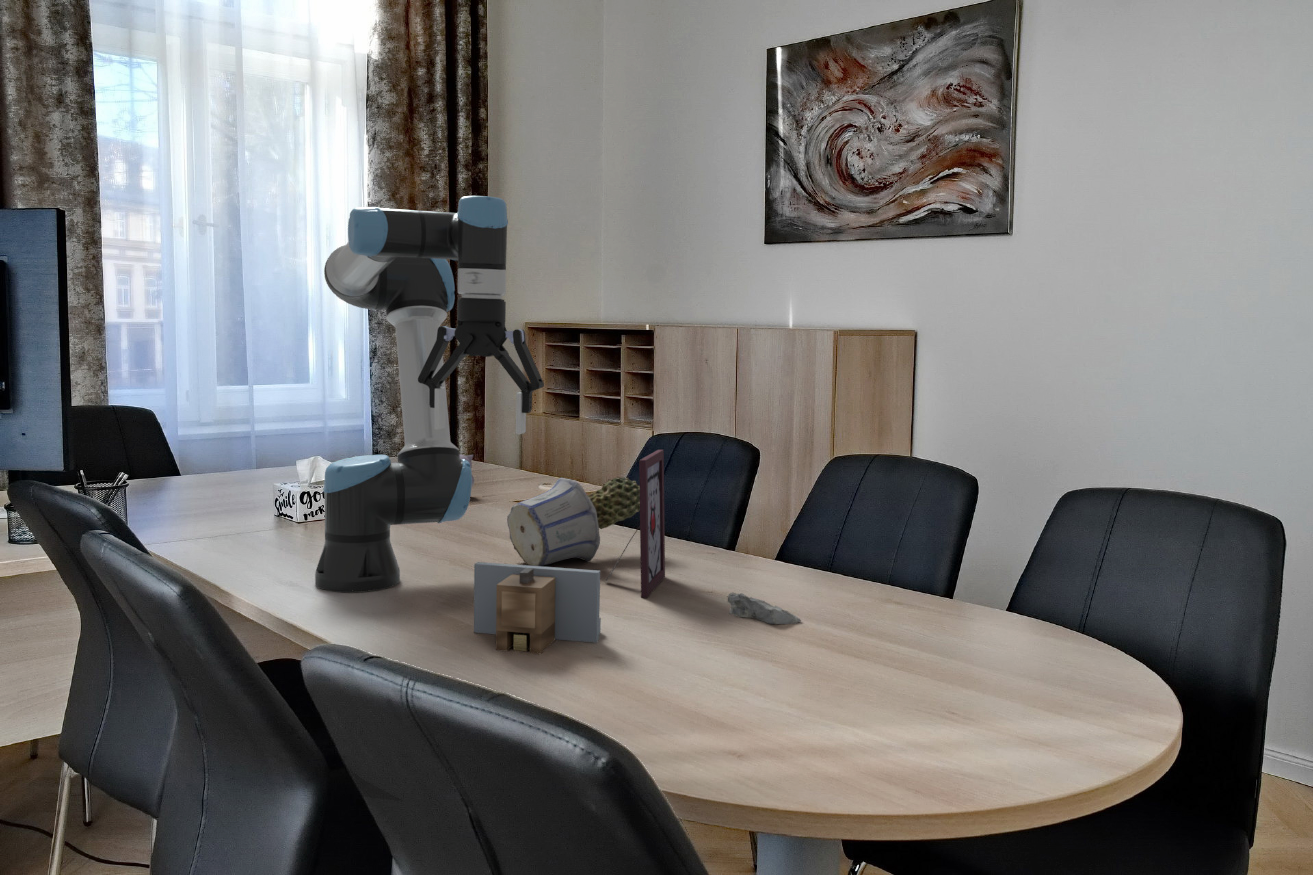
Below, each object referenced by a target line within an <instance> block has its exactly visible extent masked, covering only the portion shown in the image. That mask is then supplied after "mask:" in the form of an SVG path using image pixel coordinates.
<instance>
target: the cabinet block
mask: <svg viewBox="0 0 1313 875" xmlns="http://www.w3.org/2000/svg"><path fill="white" fill-rule="evenodd" d="M533 571H534V569H531V568H525V569H524V570H523V571H521V572H520V575H517V574H512V575H510V576H509V577H507V578H506V579H504V580H503V581H501V582H500V583H498V584H497V592H496V634H495V651H504V652H508V651H509V650H510V649H511V648H512V647H514V634H515V633H516V632H520V633H530V648H529V653H530V654H538V655H541V654H543V652H545V650H547V649H548V647H550V646H551V644H553V643H554V642H555V640H556V639H555V577H545V576H533Z"/></svg>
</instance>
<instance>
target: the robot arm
mask: <svg viewBox="0 0 1313 875" xmlns="http://www.w3.org/2000/svg"><path fill="white" fill-rule="evenodd" d="M457 206H458V208H457V212H447V211H429V210H428V211H427V210H413V209H399V208H387V207H378V206H370V207H369V206H368V207H367V206H364V207H359V206H358V207H354V208H352V210H351V211H350V213H349V218H348V222H347V223H348V224H347V238H348V239H347V240H348V241H347V243H346V244H345V245H342V246H340V247H337V248H336V249H335V250H333V251H332V252H331V253H330V255H329V256H328V257H327V259H326V262H325V264H324V269H323V273H324V280H325V282H326V284H327V286H328V288H329V289H330V291H331V292H332V293H333V294H334V295H335V296H336V297H337V298H338V299H340V300H341V301H343V302H345V303H347V304H349V305H351V306H353V307H356V308H360V309H366V310H380V311H381V310H382V311H383V310H384V311H385V313H386V321H387V322H388V323H389V324H391V326H393V327H394V328H395V337H396V338H395V339H396V349H397V350H396V351H397V362H398V374H399V375H398V376H399V377H398V378H399V385H400V386H399V388H400V390H399V391H400V402H401V412H402V413H401V414H402V416H401V417H402V428H403V438H404V439H403V440H404V446H403V447H402V449H401V450H400V451H399V452H398V453H397V462H392V460H391V458H390V457H389V455H386V454H368V455H367V454H365V455H360V456H359V455H358V456H353V457H347V458H343V459H339V460H336V461H334V462H332V463H330V464H329V465H328V466H326V468H325V471H324V480H323V481H324V482H323V484H324V485H323V488H322V491H323V494H324V544H323V548H322V551H321V554H320V556H319V560H318V562H317V563H318V564H317V566H316V569H315V571H314V572H315V574H314V577H315V578H314V581H315V582H314V585H315V586H316V587H317V588H319V589H322V590H326V591H330V592H338V593H339V592H340V593H356V592H357V593H358V592H359V593H362V592H371V591H372V592H373V591H379V590H383V589H384V590H385V589H387V588H391V587H393V586H396V585H397V584H399V583H400V581H401V570H400V567H399V563H398V560H397V557H396V554H395V551H394V549H393V547H392V546H393V545H392V543H391V526H395V525H396V526H397V525H399V526H400V525H415V524H429V523H437V524H442V523H446V522H452V521H459V520H460V519H462V517H463V516H465V514H466V512H467V511H468V507H469V505H470V500H471V498H470V496H471V497H472V489H473V488H472V487H473V486H472V476H473V474H472V473H473V471H472V468H470V463H469V462H468V461H467V460H464V459H461V460H460V454H461V453H460V449H459V447H457V446H456V445H455V444H454V443H452V441H451V435H450V434H451V433H450V423H449V421H450V420H449V410H448V400H447V390H446V380H447V379H448V378H449V376H450V375H451V374H452V373H453V371H455V369H456V368H457V367H458V365H459V364H460V363H461V362H462V361H463V360H464V359H465V358H466V357H467V356H469V357H477V356H481V357H485V358H490V357H494V358H495V359H496V360H497V361H498V362H499V363H500V365H501V366H502V367H503V369H504V370H505V371H506V373H507V374H508V376H510V378H511V379H512V381H513V382H514V383H515V384H516V385H517V387H518V388H519V390H520V392H515V393H516V394H515V396H516V398H515V399H516V400H515V401H516V402H515V403H516V404H515V435H523V434H525V433H527V432H526V431H527V430H526V429H527V428H526V426H527V414H531V412H532V409H533V392H535V391H536V390H537V391H538V390H540V389H542V388H544V386H545V383H544V381H543V378H542V376H541V374H540V372H539V369H538V367H537V365H536V363H535V360H534V358H533V356H532V354H531V352H530V349H529V347H528V345H527V340H526V331H525V330H524V329H522V328H518V329H517V328H516V329H514V330H507V327H506V311H507V310H506V307H507V306H506V304H507V302H506V301H505V299H503V296H506V294H507V249H508V248H507V247H508V246H507V244H508V243H507V239H508V224H509V219H508V212H507V211H508V209H507V203H506V201H505V200H504V199H503V198H500V197H495V196H485V195H484V196H483V195H466V196H462V197H460V199H459V201H458V205H457ZM449 260H452V261H455V262H457V293H458V294H459V295H461V297H459V298H458V299H457V301H456V302H457V303H456V305H457V306H456V307H457V308H456V309H457V310H456V311H457V312H456V314H457V315H456V318H457V320H456V321H457V325H456V328H452V327H450V326H448V325H447V326H446V325H445V326H443V325H442V324H443V322H445V320H446V319H447V317H448V312H450V311H451V310H452V309H453V308H454V304H455V296H456V295H455V291H456V289H455V281H454V275H453V271H452V267H451V265H450V263H449V262H448V261H449ZM441 325H442V326H441ZM454 337H455V339H456V340H457V342H458V343H459V344H458V345H457V347H456V348H455V349H454V350H453V352H452V353H451V355H450V356H449V358H448V359H447V360H446V361H445V362H444V353H445V351H446V350H447V348H448V346H449V343H450V341H452V340H453V338H454ZM507 340H509V341H510V343H511V344H513V346H514V349H515V351H516V353H517V354H516V355H518V358H519V360H520V362H521V365H522V367H523V369H524V371H525V373H526V375H527V377H526V375H525V374H524V372H523V371H522V370H521V369H520V367H518V365H517V363H515V360H514V359H513V358H512V357H511V355H510V353H509V352H508V350H507V349H506V347H504V344H505V342H506V341H507Z"/></svg>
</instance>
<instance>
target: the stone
mask: <svg viewBox="0 0 1313 875" xmlns="http://www.w3.org/2000/svg"><path fill="white" fill-rule="evenodd" d="M726 597H727V601H726V602H728V603H729V604H730V609H729V614H730V615H733V616H734V617H740V618H749V619H752V618H753V619H756V620H758V621H761V622H764V623H766V624H770V625H788V624H789V625H790V624H797V623H800V622H801V621H802V619H801V618H799V617H798V616H797V615H795V614H793V613H791V612H789V611H787V610H785V609H783V608H781V607H780V606H778V605H772V604H770V603H768V602H767V601H765V600H762V599H759V598H755V597H751V596H747V595H746V594H744V593H736V592H730V593H728V595H727V596H726Z"/></svg>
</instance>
